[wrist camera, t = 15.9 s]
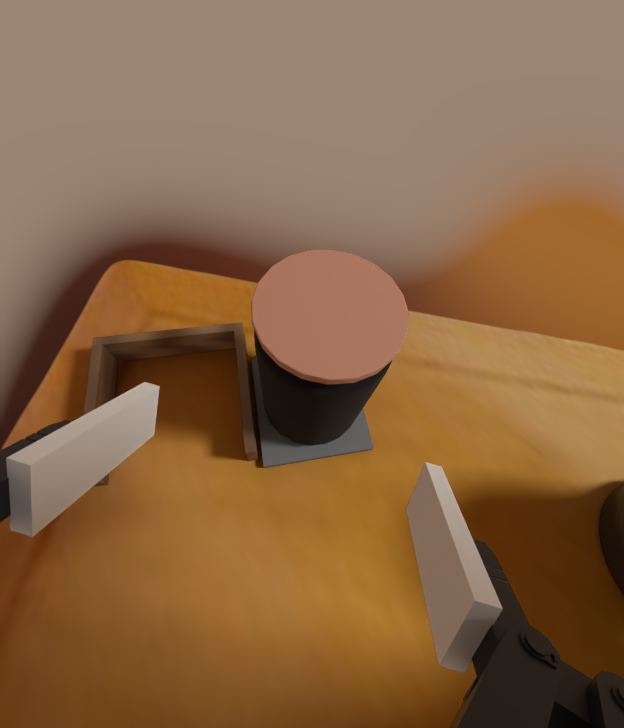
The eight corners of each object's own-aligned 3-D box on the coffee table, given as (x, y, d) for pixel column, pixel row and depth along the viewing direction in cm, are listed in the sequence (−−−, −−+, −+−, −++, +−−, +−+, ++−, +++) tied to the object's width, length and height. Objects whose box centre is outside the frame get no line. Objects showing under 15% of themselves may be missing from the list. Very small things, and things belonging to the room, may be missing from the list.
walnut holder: (245, 340, 42) (242, 322, 38) (258, 459, 35) (255, 451, 32) (110, 355, 39) (93, 337, 36) (97, 486, 33) (74, 480, 29)
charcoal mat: (345, 349, 42) (346, 346, 42) (371, 449, 37) (373, 448, 36) (251, 360, 40) (251, 357, 40) (263, 468, 35) (263, 466, 34)
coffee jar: (373, 396, 39) (438, 302, 23) (318, 469, 34) (350, 415, 19) (303, 345, 41) (317, 227, 25) (244, 407, 37) (214, 312, 21)
